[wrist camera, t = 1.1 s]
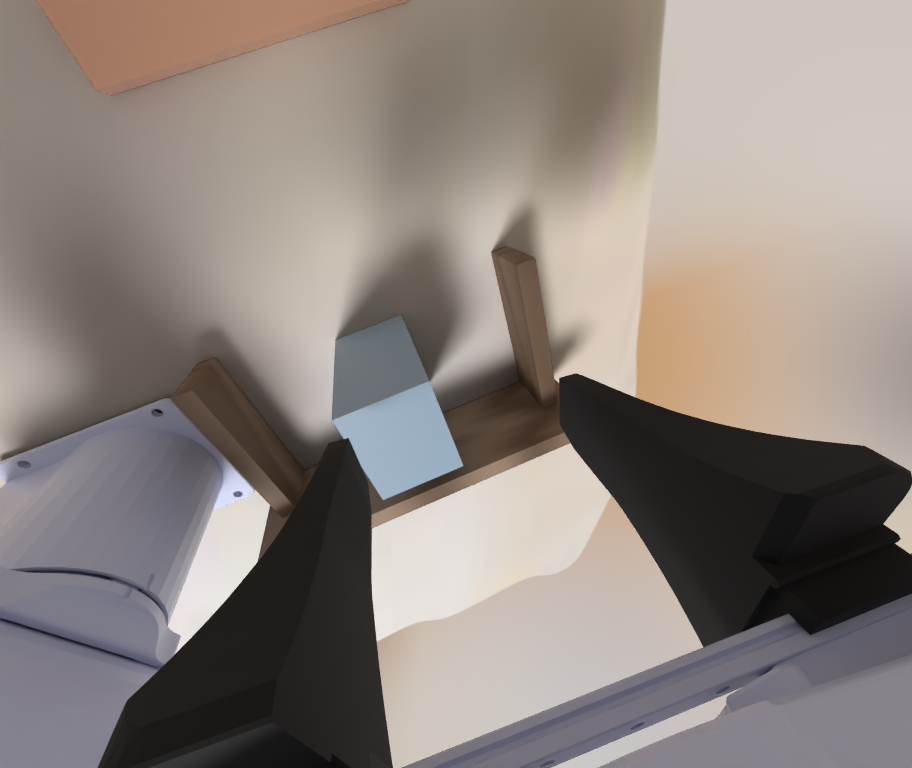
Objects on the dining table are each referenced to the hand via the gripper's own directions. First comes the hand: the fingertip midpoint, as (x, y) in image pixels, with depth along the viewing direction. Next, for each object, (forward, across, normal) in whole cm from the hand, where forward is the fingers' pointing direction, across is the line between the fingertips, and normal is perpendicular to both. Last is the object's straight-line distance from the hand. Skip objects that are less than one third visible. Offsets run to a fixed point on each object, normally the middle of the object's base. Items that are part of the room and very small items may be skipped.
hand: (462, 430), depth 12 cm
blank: (+11, +2, +2) cm, 11 cm away
